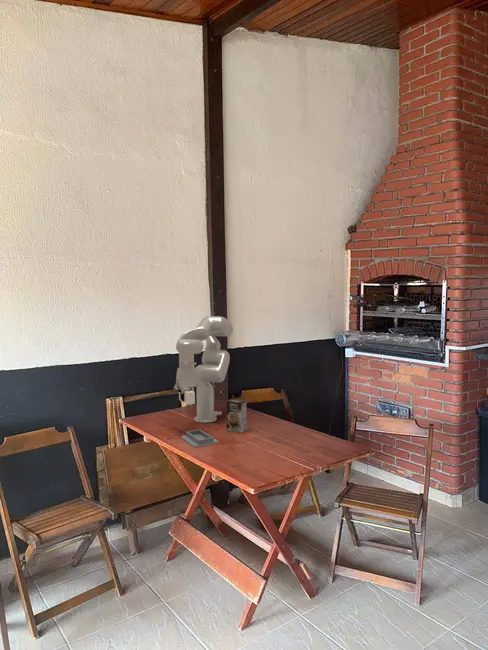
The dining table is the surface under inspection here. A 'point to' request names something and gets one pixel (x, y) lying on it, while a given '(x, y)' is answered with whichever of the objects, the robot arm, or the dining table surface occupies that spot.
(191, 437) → the cradle
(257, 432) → the dining table surface
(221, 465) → the dining table surface
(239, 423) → the coffee box
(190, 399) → the long beige rectangular prism
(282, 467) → the dining table surface
